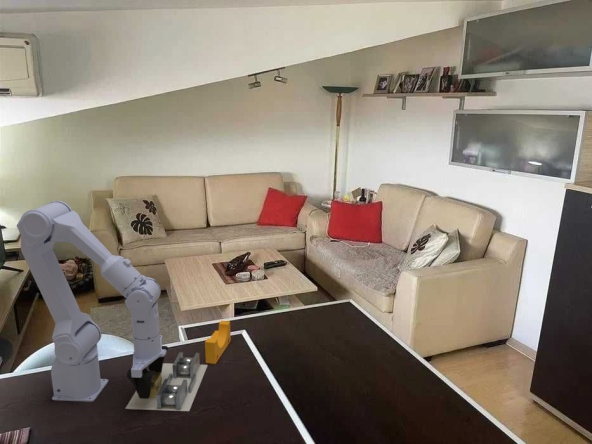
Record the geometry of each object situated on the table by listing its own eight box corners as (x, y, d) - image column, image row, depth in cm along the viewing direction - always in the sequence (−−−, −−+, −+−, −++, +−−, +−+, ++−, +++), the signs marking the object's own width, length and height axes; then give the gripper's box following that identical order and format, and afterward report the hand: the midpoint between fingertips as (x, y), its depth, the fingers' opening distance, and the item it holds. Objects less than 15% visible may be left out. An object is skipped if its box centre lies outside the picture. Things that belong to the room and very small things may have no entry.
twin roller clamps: (154, 408, 98) (153, 394, 98) (177, 364, 115) (176, 352, 115) (183, 410, 98) (182, 396, 97) (202, 365, 115) (201, 352, 114)
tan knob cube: (138, 397, 102) (137, 380, 101) (145, 386, 106) (144, 370, 105) (156, 398, 102) (155, 381, 101) (162, 387, 106) (161, 371, 105)
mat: (125, 409, 98) (125, 408, 98) (153, 364, 116) (153, 362, 116) (189, 412, 98) (189, 411, 98) (207, 365, 115) (207, 364, 115)
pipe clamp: (216, 340, 128) (215, 320, 127) (230, 342, 127) (230, 321, 126) (199, 363, 117) (198, 341, 115) (215, 365, 116) (214, 343, 114)
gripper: (153, 351, 93) (157, 408, 97) (174, 319, 107) (176, 369, 111) (119, 350, 93) (124, 407, 97) (144, 318, 107) (148, 368, 111)
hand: (150, 387), depth 104 cm, fingers open, 7 cm apart
